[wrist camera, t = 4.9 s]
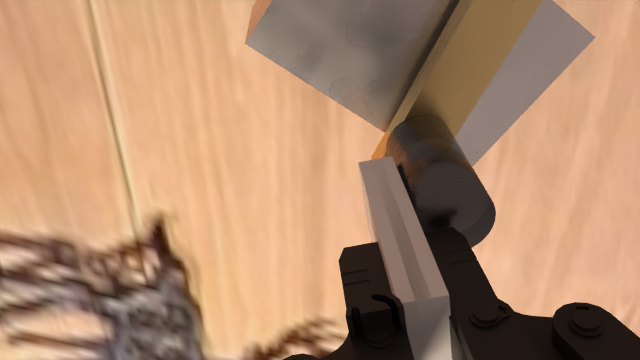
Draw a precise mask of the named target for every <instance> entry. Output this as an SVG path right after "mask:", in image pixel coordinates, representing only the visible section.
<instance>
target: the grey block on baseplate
mask: <svg viewBox="0 0 640 360" xmlns="http://www.w3.org/2000/svg"><path fill="white" fill-rule="evenodd" d="M459 1H460V0H257V1H256V2H255V4H254V6H253V8H252V12H251V17H250V22H249V27H248V32H247V36H246V41H245V44H247V45H248V46H250V47H251V48H253V49H254V50H256V51H258V52H259V53H261V54H262V55H264V56H265V57H267V58H269V59H270V60H272V61H273V62H275V63H276V64H278V65H280V66H281V67H283V68H284V69H286V70H287V71H289V72H291V73H292V74H294V75H295V76H297V77H298V78H300V79H302V80H303V81H305V82H306V83H308V84H309V85H311V86H313V87H314V88H316V89H317V90H319V91H320V92H322V93H324V94H325V95H327V96H328V97H330V98H331V99H333V100H335V101H336V102H338V103H339V104H341V105H342V106H344V107H346V108H347V109H349V110H350V111H352V112H353V113H355V114H357V115H358V116H360V117H361V118H363V119H364V120H366V121H368V122H369V123H371V124H372V125H374V126H375V127H377V128H379V129H380V130H382V131H383V132H386V130H387V128H388V127H389V125H390V123H391V121H392V120H393V118H394V116H395V114H396V113H397V111H398V109H399V107H400V105H401V104H402V102H403V100H404V98H405V97H406V95H407V93H408V91H409V89H410V88H411V86H412V84H413V82H414V81H415V79H416V77H417V75H418V74H419V72H420V70H421V68H422V66H423V65H424V63H425V61H426V59H427V58H428V56H429V54H430V52H431V50H432V49H433V47H434V45H435V43H436V42H437V40H438V38H439V36H440V34H441V33H442V31H443V29H444V27H445V26H446V24H447V22H448V20H449V19H450V17H451V15H452V13H453V11H454V10H455V8H456V6H457V4H458V3H459ZM594 38H595V37H594V36H593V35H592V34H591V33H590V32H589V31H587V30H586V29H585V28H584V27H583V26H582V25H580V24H579V23H578V22H577V21H576V20H575V19H574V18H572V17H571V16H570V15H569V14H568V13H567V12H565V11H564V10H563V9H562V8H561V7H560V6H559V5H557V4H556V3H555V2H554V1H553V0H543V1H542V2H541V4H540V5H539V7H538V8H537V10H536V11H535V13H534V15H533V16H532V18H531V19H530V21H529V22H528V24H527V26H526V27H525V29H524V30H523V32H522V33H521V35H520V36H519V38H518V40H517V41H516V43H515V44H514V46H513V47H512V49H511V51H510V52H509V54H508V55H507V57H506V58H505V60H504V61H503V63H502V65H501V66H500V68H499V69H498V71H497V72H496V74H495V75H494V77H493V79H492V80H491V82H490V83H489V85H488V86H487V88H486V90H485V91H484V93H483V94H482V96H481V97H480V99H479V100H478V102H477V104H476V105H475V107H474V108H473V110H472V111H471V113H470V115H469V116H468V118H467V119H466V121H465V122H464V124H463V125H462V127H461V129H460V130H459V132H458V133H457V135H456V136H455V139H456V141H457V143H458V144H459V146H460V148H461V149H462V151H463V153H464V154H465V156H466V158H467V159H468V161H469V163H470V164H471V166H472V167H473V166H474V164H475V163H476V162H477V161H478V160H479V159H480V158H481V157H482V156H483V155H484V154H485V153H486V152H487V151H488V150H489V149H490V148H491V147H492V146H493V144H494V143H495V142H496V141H497V140H498V139H499V138H500V137H501V136H502V135H503V134H504V133H505V132H506V131H507V130H508V129H509V128H510V127H511V126H512V125H513V123H514V122H515V121H516V120H517V119H518V118H519V117H520V116H521V115H522V114H523V113H524V112H525V111H526V110H527V109H528V108H529V107H530V106H531V105H532V104H533V102H534V101H535V100H536V99H537V98H538V97H539V96H540V95H541V94H542V93H543V92H544V91H545V90H546V89H547V88H548V87H549V86H550V85H551V84H552V82H553V81H554V80H555V79H556V78H557V77H558V76H559V75H560V74H561V73H562V72H563V71H564V70H565V69H566V68H567V67H568V66H569V65H570V64H571V63H572V61H573V60H574V59H575V58H576V57H577V56H578V55H579V54H580V53H581V52H582V51H583V50H584V49H585V48H586V47H587V46H588V45H589V44H590V43H591V41H592V40H593V39H594Z"/></svg>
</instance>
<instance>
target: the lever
mask: <svg viewBox="0 0 640 360" xmlns="http://www.w3.org/2000/svg"><path fill="white" fill-rule="evenodd" d="M542 1H543V0H460V1H459V3H458V4H457V6H456V8H455V10H454V11H453V13H452V15H451V17H450V19H449V20H448V22H447V24H446V26H445V27H444V29H443V31H442V33H441V34H440V36H439V38H438V40H437V42H436V43H435V45H434V47H433V49H432V50H431V52H430V54H429V56H428V58H427V59H426V61H425V63H424V65H423V66H422V68H421V70H420V72H419V74H418V75H417V77H416V79H415V81H414V82H413V84H412V86H411V88H410V89H409V91H408V93H407V95H406V97H405V98H404V100H403V102H402V104H401V105H400V107H399V109H398V111H397V113H396V114H395V116H394V118H393V120H392V121H391V123H390V125H389V127H388V128H387V130H386V132H385V134H384V136H383V137H382V139H381V141H380V143H379V144H378V146H377V148H376V150H375V152H374V153H373V155H372V157H371V158H372V160H375V159H380V158H386V157H391V156H392V157H393V160H394V162H395V165H396V167H397V169H398V172H399V174H400V177H401V179H402V182H403V184H404V186H405V189H406V191H407V194H408V196H409V199H410V201H411V203H412V206H413V208H414V211H415V213H416V216H417V218H418V220H419V223H420V225H421V228H422V230H423V232H427V231H432V230H437V229H443V228H448V227H453V228H455V229H456V230H457V231H459V232H460V233H461V234H463V235H464V236H465V237H466V239H467V241H468V243H469V245H470V247H471V248H472V247H474V246H475V245H477V244H478V243H480V242H481V241H482V240H483V239H484V238H485V237H486V236H487V235H488V234H489V232H490V231H491V229H492V227H493V225H494V222H495V216H496V211H495V206H494V203H493V202H492V200H491V198H490V196H489V195H488V193H487V191H486V190H485V188H484V186H483V185H482V183H481V181H480V180H479V178H478V176H477V175H476V173H475V171H474V169H473V168H472V166H471V164H470V163H469V161H468V159H467V158H466V156H465V154H464V153H463V151H462V149H461V148H460V146H459V144H458V143H457V141H456V139H455V136H456V135H457V133H458V132H459V130H460V129H461V127H462V125H463V124H464V122H465V121H466V119H467V118H468V116H469V115H470V113H471V111H472V110H473V108H474V107H475V105H476V104H477V102H478V100H479V99H480V97H481V96H482V94H483V93H484V91H485V90H486V88H487V86H488V85H489V83H490V82H491V80H492V79H493V77H494V75H495V74H496V72H497V71H498V69H499V68H500V66H501V65H502V63H503V61H504V60H505V58H506V57H507V55H508V54H509V52H510V51H511V49H512V47H513V46H514V44H515V43H516V41H517V40H518V38H519V36H520V35H521V33H522V32H523V30H524V29H525V27H526V26H527V24H528V22H529V21H530V19H531V18H532V16H533V15H534V13H535V11H536V10H537V8H538V7H539V5H540V4H541V2H542Z"/></svg>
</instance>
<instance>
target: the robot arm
mask: <svg viewBox="0 0 640 360" xmlns="http://www.w3.org/2000/svg"><path fill="white" fill-rule="evenodd" d="M358 165H359V171H360V177H361V183H362V190H363V196H364V202H365V208H366V215H367V221H368V227H369V231H370V235H371V239H372V243H368V244H363V245H357V246H352V247H346V248H344V249H343V252H342V254H341V256H340V259H339V265H340V272H341V278H342V284H343V290H344V296H345V303H346V309H347V310H346V320H347V325H348V330H349V333H348V336H347V338H346V340H345V341H344V343H343V344H342V345H341V346H340V347H339V348H338V349H337V350H335V351H334V352H332V353H331V354H329V355H327V356H325V357H323V358H321V359H317V358H316V357H314V356H312V355H307V354H297V355H291V356H289V357H287V358H285V359H283V360H640V338H639V337H638V336H637V335H636V334H634V333H633V332H632V331H631V330H630V329H628V328H627V327H626V326H625V325H624V324H623V323H621V322H620V321H619V320H618V319H617V318H615V317H614V316H613V315H612V314H611V313H609V312H607V311H606V310H604V309H603V308H601V307H599V306H595V305H592V304H589V303H577V302H575V303H570V304H566V305H563V306H562V307H560V308H559V309H558V310H556V312H555V314H554V316H553V317H540V316H530V315H523V314H520V313H517V312H514V311H513V309H512V308H511V307H510V306H509V305H508V304H507V303H505V302H503V301H501V300H500V299H498V298H497V297H496V295H495V293H494V291H493V289H492V287H491V285H490V283H489V281H488V279H487V277H486V275H485V273H484V272H483V270H482V268H481V266H480V264H479V262H478V261H477V258H476V256H475V254H474V252H473V251H472V249H471V247H470V245H469V243H468V241H467V239H466V237H465V236H464V235H463V234H461V233H460V232H459V231H457V230H456V229H455V228H453V227H448V228H443V229H437V230H432V231H427V232H423V230H422V228H421V225H420V223H419V220H418V218H417V216H416V213H415V211H414V208H413V206H412V203H411V201H410V199H409V196H408V194H407V191H406V189H405V186H404V184H403V182H402V179H401V177H400V174H399V172H398V169H397V167H396V165H395V162H394V160H393V157H392V156H391V157H386V158H380V159H375V160H369V161H364V162H359V163H358Z"/></svg>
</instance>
